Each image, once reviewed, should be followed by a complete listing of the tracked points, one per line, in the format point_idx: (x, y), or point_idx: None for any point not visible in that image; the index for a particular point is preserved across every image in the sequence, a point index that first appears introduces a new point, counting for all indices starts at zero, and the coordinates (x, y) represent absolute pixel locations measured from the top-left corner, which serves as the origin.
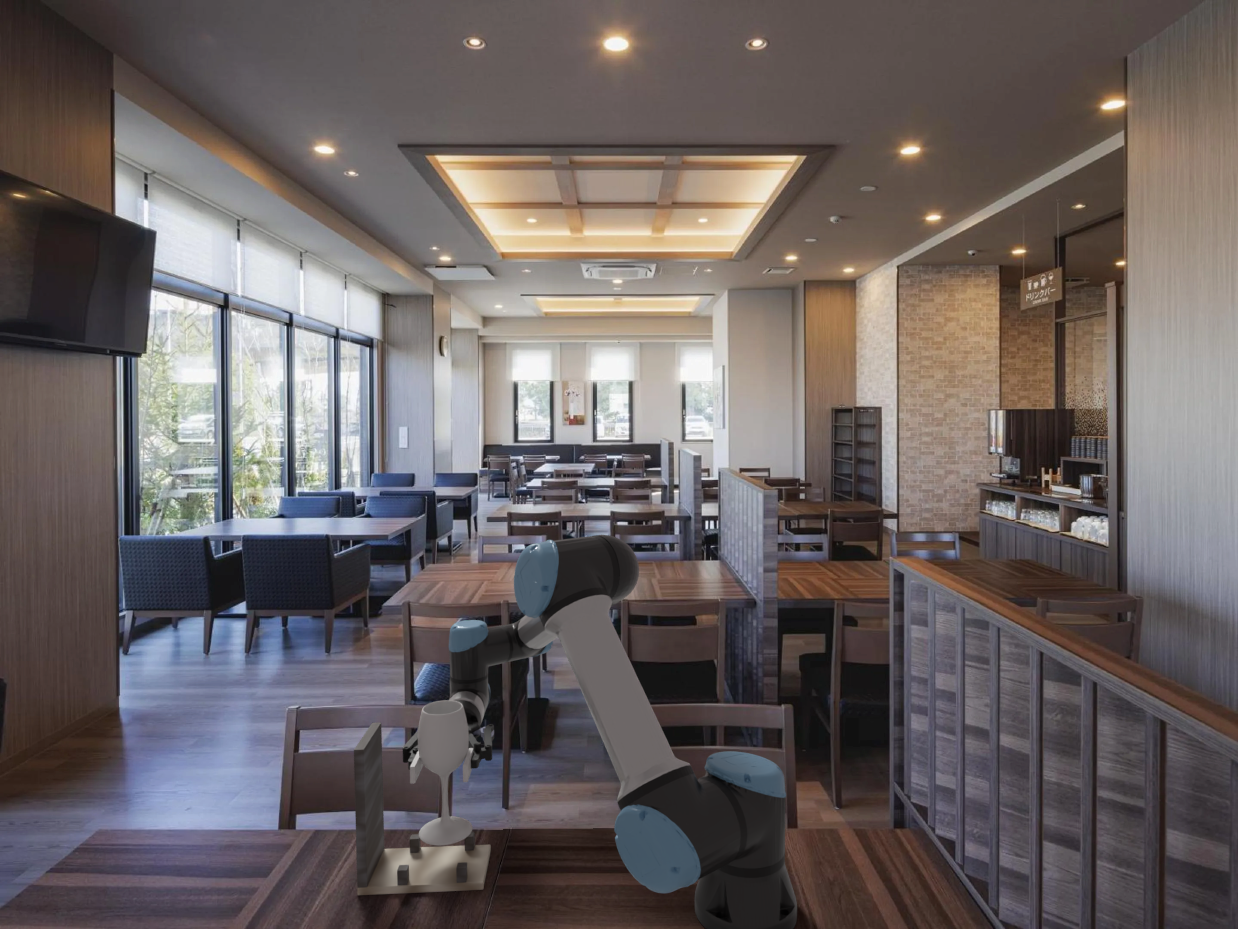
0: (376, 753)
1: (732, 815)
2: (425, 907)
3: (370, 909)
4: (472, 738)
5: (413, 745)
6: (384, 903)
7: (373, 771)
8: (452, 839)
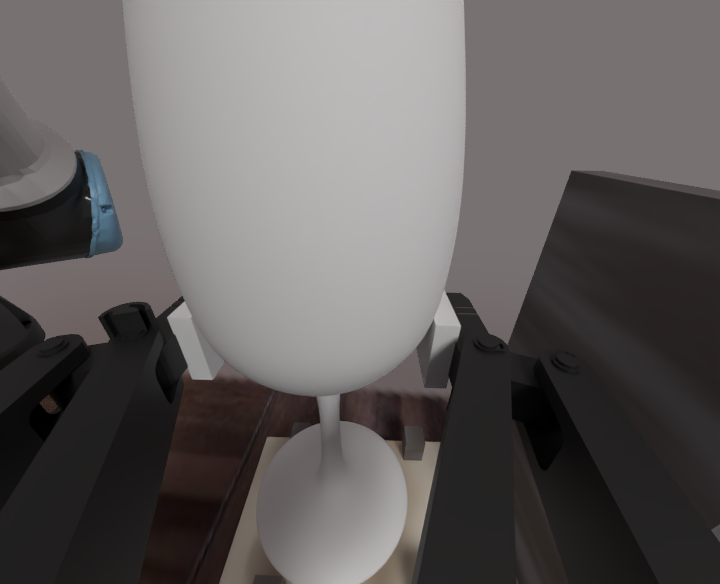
0: (674, 331)
1: None
2: (361, 411)
3: (443, 414)
4: (56, 462)
5: (563, 427)
6: (428, 426)
7: (596, 339)
8: (315, 427)
